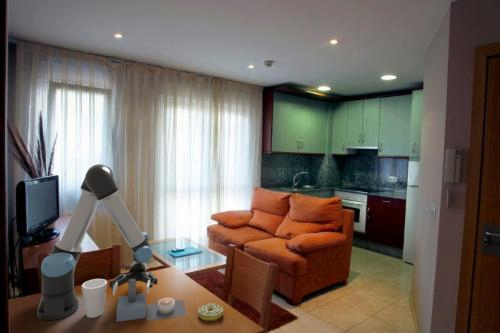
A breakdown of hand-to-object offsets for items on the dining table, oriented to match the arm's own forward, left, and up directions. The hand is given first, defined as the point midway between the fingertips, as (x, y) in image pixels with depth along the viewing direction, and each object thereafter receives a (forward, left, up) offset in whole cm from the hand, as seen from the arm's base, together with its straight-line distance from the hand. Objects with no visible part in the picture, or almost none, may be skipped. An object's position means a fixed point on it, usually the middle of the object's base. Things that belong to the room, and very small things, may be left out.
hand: (130, 291), depth 127 cm
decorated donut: (+32, -7, -12) cm, 35 cm away
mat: (+14, +2, -11) cm, 18 cm away
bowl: (+14, +2, -11) cm, 18 cm away
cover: (0, +3, -11) cm, 12 cm away
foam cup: (-15, +7, -12) cm, 20 cm away
